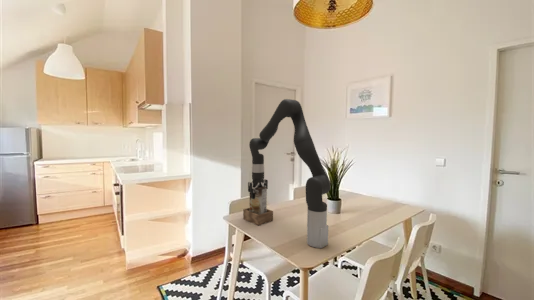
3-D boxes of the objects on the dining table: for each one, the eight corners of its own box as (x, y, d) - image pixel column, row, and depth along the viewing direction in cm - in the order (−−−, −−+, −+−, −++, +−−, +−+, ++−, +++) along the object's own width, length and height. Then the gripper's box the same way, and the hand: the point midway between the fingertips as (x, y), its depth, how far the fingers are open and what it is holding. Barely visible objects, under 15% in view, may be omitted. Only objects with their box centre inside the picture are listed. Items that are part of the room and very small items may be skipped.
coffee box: (248, 212, 149) (248, 187, 147) (254, 209, 154) (254, 185, 153) (261, 215, 144) (261, 189, 143) (267, 212, 149) (267, 186, 148)
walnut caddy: (273, 220, 148) (273, 211, 147) (258, 225, 140) (258, 215, 140) (257, 214, 159) (257, 205, 158) (243, 218, 151) (243, 209, 150)
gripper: (252, 173, 139) (252, 201, 141) (270, 170, 149) (270, 196, 150) (244, 171, 145) (245, 198, 146) (262, 169, 154) (262, 194, 156)
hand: (258, 197), depth 148 cm, fingers closed on coffee box, 7 cm apart
